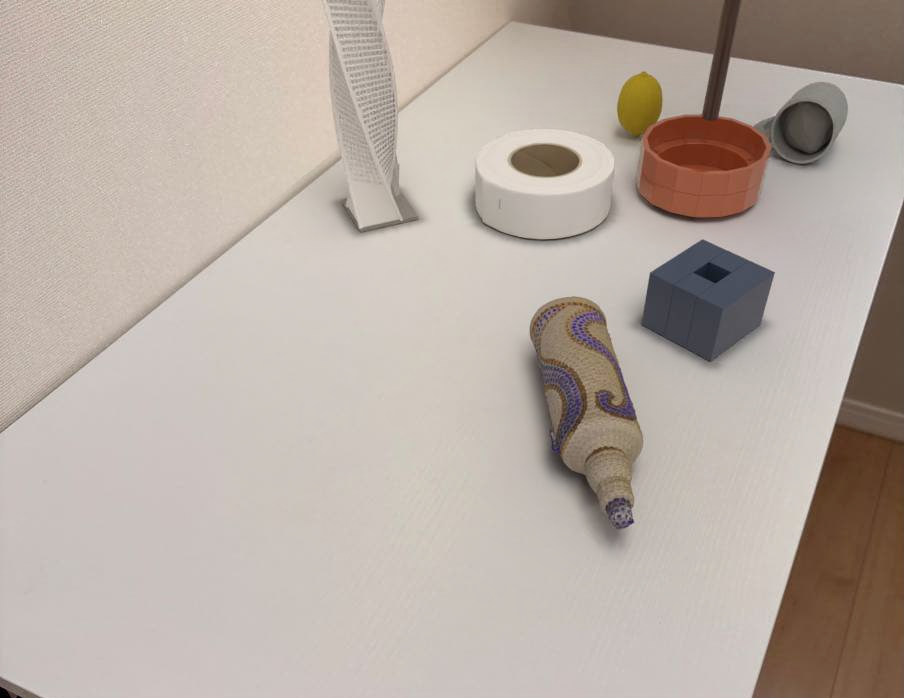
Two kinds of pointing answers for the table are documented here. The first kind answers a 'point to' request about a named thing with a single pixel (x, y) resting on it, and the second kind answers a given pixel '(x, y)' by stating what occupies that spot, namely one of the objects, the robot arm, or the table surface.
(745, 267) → the stand
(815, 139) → the ceramic mug
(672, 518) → the table surface
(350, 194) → the skyscraper
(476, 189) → the tape roll
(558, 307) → the decorative bottle
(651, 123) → the lemon
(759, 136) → the bowl
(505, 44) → the table surface
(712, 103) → the stick
